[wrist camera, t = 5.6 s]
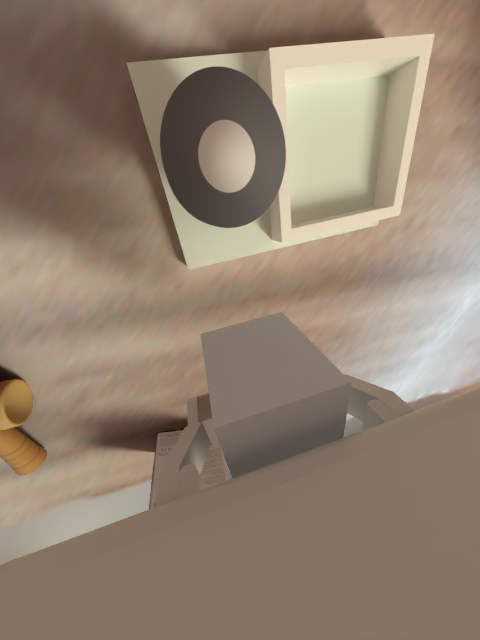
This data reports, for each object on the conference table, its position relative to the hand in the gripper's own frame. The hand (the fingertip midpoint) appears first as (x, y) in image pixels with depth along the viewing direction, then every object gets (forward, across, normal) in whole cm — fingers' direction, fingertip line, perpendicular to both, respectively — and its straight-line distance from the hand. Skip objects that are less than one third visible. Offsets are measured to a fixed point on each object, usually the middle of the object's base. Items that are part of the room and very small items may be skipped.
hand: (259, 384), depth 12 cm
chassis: (+15, -8, -11) cm, 20 cm away
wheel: (+8, -1, -11) cm, 14 cm away
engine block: (+2, 0, 0) cm, 2 cm away
